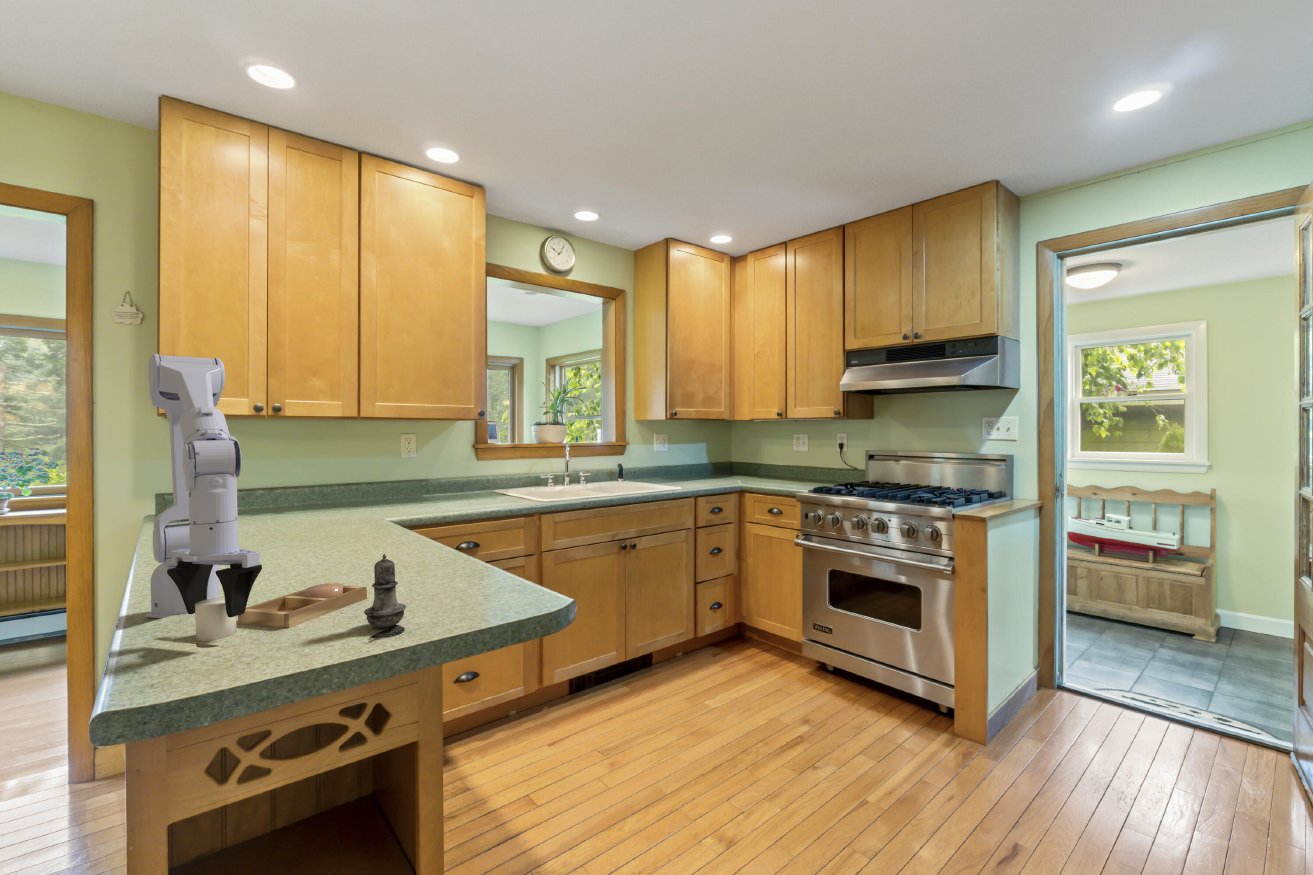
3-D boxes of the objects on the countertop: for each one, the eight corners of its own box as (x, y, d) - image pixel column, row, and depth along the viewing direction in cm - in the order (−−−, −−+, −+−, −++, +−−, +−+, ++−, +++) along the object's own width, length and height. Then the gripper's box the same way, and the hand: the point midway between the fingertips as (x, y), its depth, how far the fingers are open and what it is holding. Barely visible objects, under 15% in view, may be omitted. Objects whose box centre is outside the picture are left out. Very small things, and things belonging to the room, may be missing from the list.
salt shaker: (390, 640, 86) (388, 558, 86) (355, 637, 87) (353, 557, 87) (414, 626, 92) (413, 550, 92) (381, 624, 93) (379, 549, 93)
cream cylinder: (187, 646, 85) (186, 604, 85) (220, 635, 90) (219, 595, 90) (213, 648, 84) (212, 607, 84) (244, 637, 88) (243, 597, 88)
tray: (238, 629, 92) (237, 610, 92) (321, 600, 107) (320, 584, 107) (289, 634, 89) (289, 614, 89) (367, 603, 105) (366, 587, 105)
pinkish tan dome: (298, 607, 100) (297, 590, 100) (324, 597, 105) (324, 582, 105) (325, 609, 99) (324, 592, 99) (350, 599, 104) (350, 584, 104)
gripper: (147, 524, 84) (150, 618, 85) (225, 526, 81) (228, 625, 81) (197, 517, 91) (199, 604, 91) (271, 519, 87) (273, 610, 88)
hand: (216, 613), depth 87 cm, fingers open, 7 cm apart
